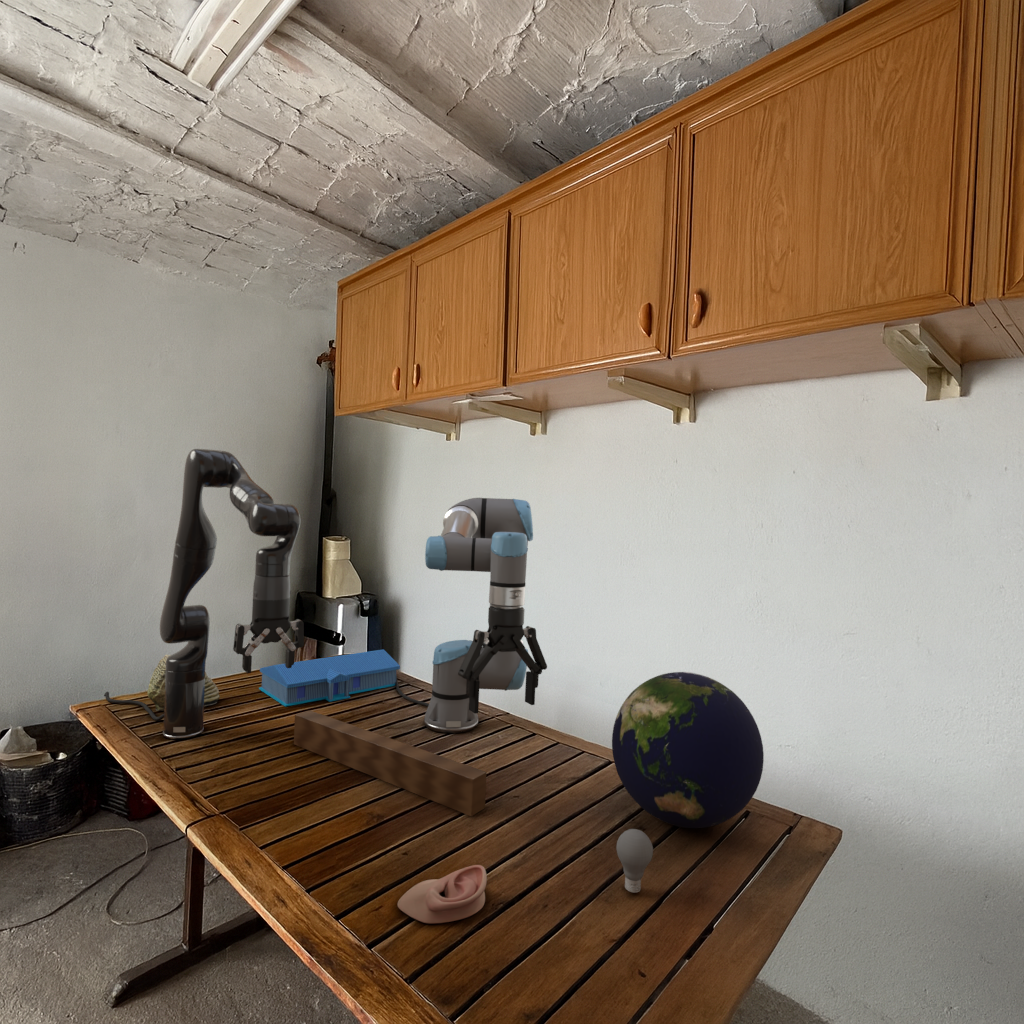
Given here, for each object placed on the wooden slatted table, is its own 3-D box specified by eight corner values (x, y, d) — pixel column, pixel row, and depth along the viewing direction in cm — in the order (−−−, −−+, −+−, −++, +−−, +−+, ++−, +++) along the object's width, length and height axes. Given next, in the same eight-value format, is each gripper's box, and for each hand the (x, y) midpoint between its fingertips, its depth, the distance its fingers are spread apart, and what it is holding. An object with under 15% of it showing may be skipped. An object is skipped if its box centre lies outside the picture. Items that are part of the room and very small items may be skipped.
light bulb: (610, 879, 108) (613, 822, 108) (644, 879, 109) (647, 822, 109) (619, 902, 102) (622, 840, 102) (655, 901, 103) (658, 840, 103)
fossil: (144, 707, 182) (145, 655, 182) (212, 696, 194) (213, 647, 194) (151, 716, 175) (153, 662, 175) (221, 703, 188) (223, 653, 188)
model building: (289, 709, 186) (291, 675, 185) (258, 688, 204) (259, 657, 204) (403, 687, 212) (405, 657, 212) (366, 670, 230) (368, 643, 230)
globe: (592, 836, 122) (599, 682, 122) (625, 776, 150) (631, 650, 149) (758, 877, 111) (767, 707, 110) (760, 804, 139) (767, 668, 138)
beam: (293, 744, 161) (294, 714, 161) (308, 739, 165) (309, 710, 164) (471, 816, 128) (472, 779, 128) (485, 808, 132) (486, 771, 132)
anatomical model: (390, 891, 96) (416, 850, 108) (389, 917, 96) (415, 874, 108) (474, 906, 94) (492, 863, 105) (473, 932, 94) (491, 887, 105)
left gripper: (298, 591, 144) (295, 661, 145) (232, 594, 136) (229, 669, 136) (310, 596, 138) (306, 670, 139) (241, 600, 130) (238, 678, 130)
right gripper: (461, 611, 123) (456, 720, 123) (565, 606, 136) (561, 704, 136) (444, 605, 129) (440, 709, 129) (546, 600, 142) (541, 695, 142)
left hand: (268, 669), depth 138 cm, fingers open, 8 cm apart
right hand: (502, 707), depth 132 cm, fingers open, 13 cm apart
